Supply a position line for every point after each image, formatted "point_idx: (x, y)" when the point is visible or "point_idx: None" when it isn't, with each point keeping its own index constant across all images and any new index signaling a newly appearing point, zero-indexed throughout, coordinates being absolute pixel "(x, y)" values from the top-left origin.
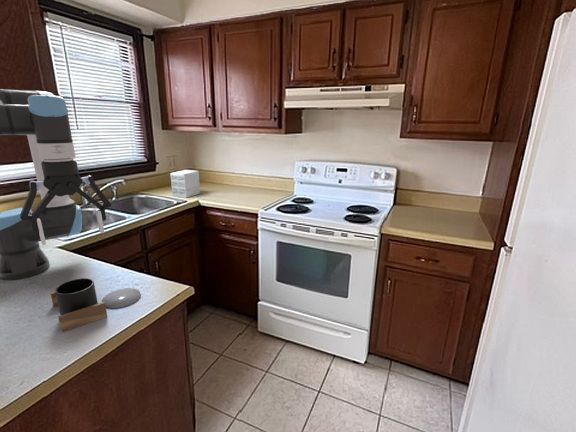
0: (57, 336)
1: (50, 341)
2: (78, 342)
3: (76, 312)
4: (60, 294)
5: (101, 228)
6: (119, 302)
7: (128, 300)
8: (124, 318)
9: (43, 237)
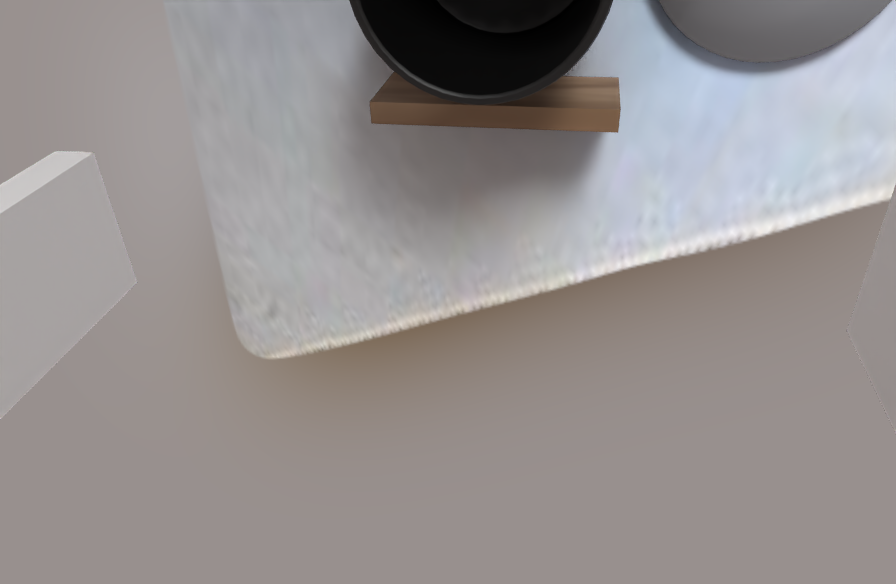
0: None
1: (346, 133)
2: (447, 225)
3: (458, 124)
4: (373, 47)
5: (887, 388)
6: (736, 3)
7: (793, 17)
8: (677, 183)
9: (64, 340)
